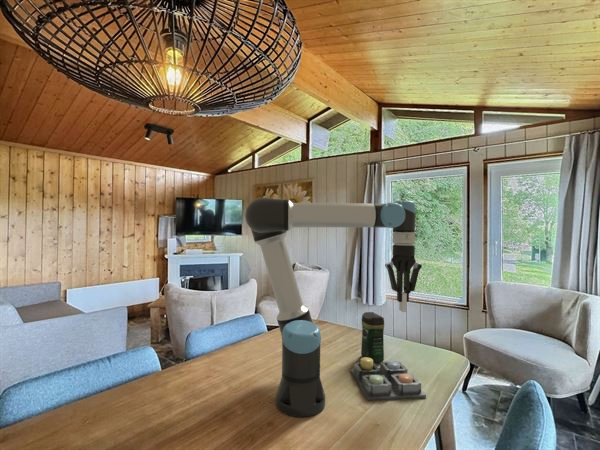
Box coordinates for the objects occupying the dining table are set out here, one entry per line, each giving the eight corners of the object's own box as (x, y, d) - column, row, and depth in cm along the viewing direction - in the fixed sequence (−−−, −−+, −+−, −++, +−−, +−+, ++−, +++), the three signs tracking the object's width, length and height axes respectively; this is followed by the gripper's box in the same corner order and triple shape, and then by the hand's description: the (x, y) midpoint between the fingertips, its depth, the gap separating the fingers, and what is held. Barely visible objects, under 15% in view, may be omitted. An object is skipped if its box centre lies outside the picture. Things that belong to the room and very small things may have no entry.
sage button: (372, 390, 102) (372, 381, 102) (367, 384, 106) (367, 375, 106) (385, 390, 103) (385, 381, 103) (380, 383, 107) (380, 374, 107)
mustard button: (362, 371, 112) (362, 362, 112) (358, 365, 116) (359, 357, 116) (374, 370, 112) (374, 362, 113) (370, 365, 117) (370, 357, 117)
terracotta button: (402, 389, 103) (402, 380, 103) (396, 382, 108) (396, 374, 108) (415, 389, 104) (415, 379, 104) (408, 382, 108) (409, 373, 108)
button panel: (367, 400, 99) (368, 388, 99) (350, 371, 119) (350, 361, 119) (425, 397, 101) (426, 385, 101) (399, 369, 121) (399, 359, 121)
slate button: (389, 375, 113) (390, 366, 113) (385, 369, 117) (385, 361, 117) (401, 374, 114) (401, 366, 114) (396, 369, 118) (396, 361, 118)
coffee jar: (387, 363, 127) (387, 316, 127) (368, 364, 125) (369, 317, 125) (375, 353, 136) (376, 310, 136) (358, 355, 134) (359, 311, 134)
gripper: (389, 244, 109) (389, 314, 109) (426, 245, 110) (425, 313, 110) (382, 243, 116) (381, 308, 116) (416, 244, 118) (415, 308, 118)
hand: (402, 310), depth 113 cm, fingers closed
